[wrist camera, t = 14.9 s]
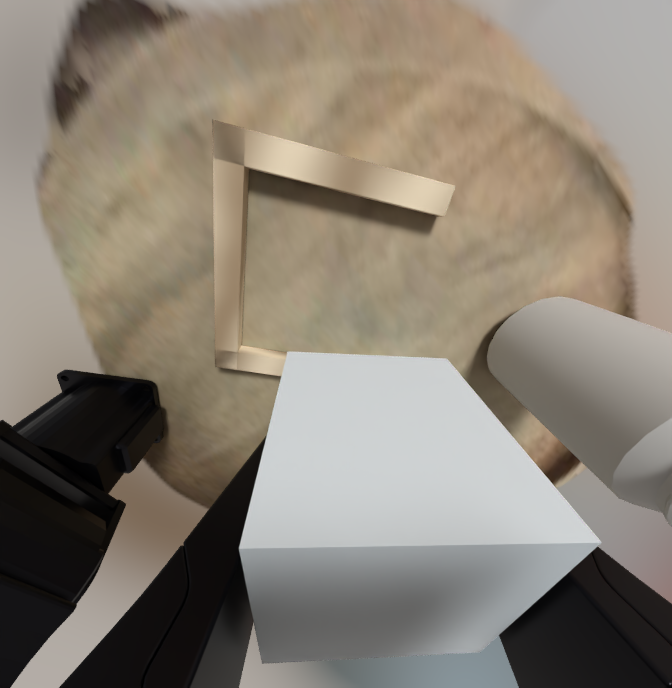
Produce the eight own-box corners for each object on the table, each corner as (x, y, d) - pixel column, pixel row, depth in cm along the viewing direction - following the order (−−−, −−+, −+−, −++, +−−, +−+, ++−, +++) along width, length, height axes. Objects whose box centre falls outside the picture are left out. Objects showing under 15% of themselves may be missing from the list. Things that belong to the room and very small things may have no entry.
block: (289, 461, 10) (261, 663, 5) (287, 351, 8) (238, 548, 3) (412, 462, 10) (479, 652, 6) (446, 358, 8) (601, 542, 4)
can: (461, 366, 20) (613, 535, 10) (522, 278, 17) (847, 387, 6) (534, 388, 22) (734, 556, 11) (602, 311, 19) (974, 444, 8)
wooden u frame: (220, 359, 19) (215, 366, 18) (220, 126, 13) (212, 119, 12) (378, 382, 21) (380, 390, 20) (447, 187, 14) (455, 186, 13)
